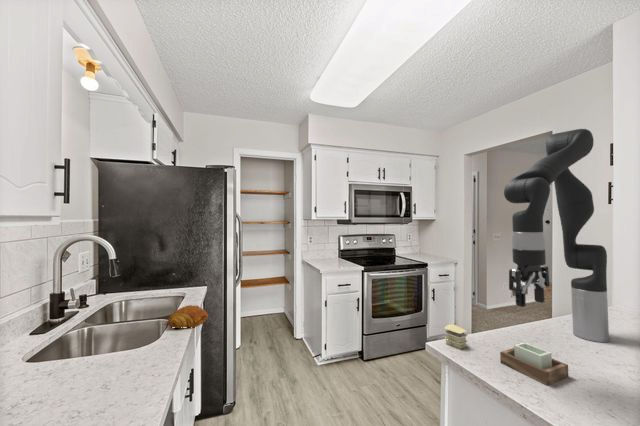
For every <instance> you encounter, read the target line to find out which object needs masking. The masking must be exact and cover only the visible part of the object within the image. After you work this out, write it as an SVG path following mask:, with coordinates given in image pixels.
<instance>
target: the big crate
mask: <svg viewBox="0 0 640 426" xmlns="http://www.w3.org/2000/svg"><path fill="white" fill-rule="evenodd" d="M499 354H500V364H502V365H505V366H506V367H509V368H510V369H512V370H515V371H516V372H518V373H520V374H522V375H525V376H527V377H528V378H531V379H533V380H535V381H538V382H539V383H541V384H543V385H545V386H549V385H552V384H554V383H556V382H559V381H561V380H564V379H567V378H569V365H568V364H567V363H565V362H562V361H560V360H556V359H555V358H552V367H551V368H548V369H546V370H543V369H541V368H539V367H537V366H534V365H532V364H530V363H528V362H525V361H523V360H521V359H519V358H516V357H515V354H514V347H512V348H509V349H505V350H502V351H500V352H499Z"/></svg>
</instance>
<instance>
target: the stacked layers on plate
mask: <svg viewBox="0 0 640 426" xmlns="http://www.w3.org/2000/svg"><path fill="white" fill-rule="evenodd" d="M444 329H445V330H444V333H445V335H444V339H445V343H446V345H450V346H453V347H455V348H457V349H458V350H459V349H463V348H466V347H467V343H468V340H467V336H468V334H466V332H467V331H468V330H466V329H464V328H462V327H460V326H458V325H456V324H452V323H451V324H448V325H445V326H444ZM447 339H448V340H447Z"/></svg>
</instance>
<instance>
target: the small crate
mask: <svg viewBox="0 0 640 426" xmlns="http://www.w3.org/2000/svg"><path fill="white" fill-rule="evenodd" d="M513 346H514V347H513V348H514V354H515V357H516V358H519V359H521V360H523V361H525V362H528V363H530V364H532V365H534V366H537V367H539V368H541V369H543V370H546V369H548V368H551V367H552V359H553V358H552V355H553V354H552V352H550V351H548V350H545V349H542V348H540V347H538V346H536V345H533V344H530V343H527V342H525V341H524V342H521V343H517V344H514V345H513Z"/></svg>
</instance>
